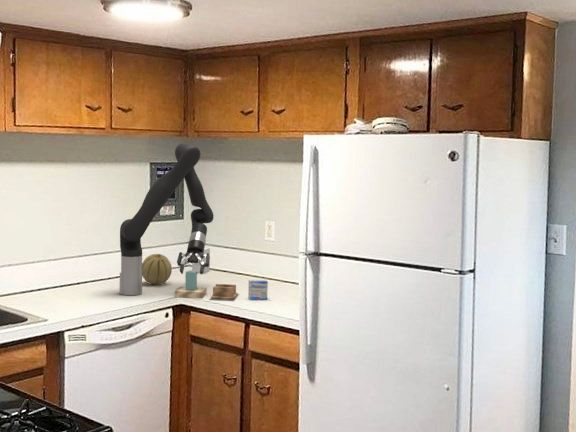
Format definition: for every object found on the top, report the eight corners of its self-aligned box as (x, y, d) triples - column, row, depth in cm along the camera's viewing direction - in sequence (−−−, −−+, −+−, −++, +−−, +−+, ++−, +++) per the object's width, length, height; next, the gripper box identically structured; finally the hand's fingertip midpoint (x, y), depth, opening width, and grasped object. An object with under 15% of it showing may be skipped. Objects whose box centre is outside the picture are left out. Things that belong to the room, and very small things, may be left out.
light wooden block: (175, 297, 334) (175, 291, 334) (180, 293, 344) (180, 286, 344) (202, 299, 333) (202, 292, 333) (206, 294, 343) (206, 288, 343)
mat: (208, 300, 330) (208, 300, 330) (215, 293, 346) (215, 292, 346) (233, 301, 329) (233, 301, 329) (239, 294, 345) (239, 293, 345)
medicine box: (249, 300, 332) (250, 281, 331) (248, 298, 336) (248, 279, 336) (267, 300, 334) (267, 281, 333) (265, 298, 338) (266, 279, 337)
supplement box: (210, 271, 403) (210, 247, 402) (204, 273, 396) (205, 249, 395) (197, 270, 405) (197, 247, 404) (191, 272, 398) (191, 248, 397)
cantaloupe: (155, 280, 374) (156, 250, 373) (178, 284, 366) (178, 253, 365) (133, 284, 362) (134, 253, 361) (156, 288, 354) (156, 256, 352)
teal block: (185, 290, 337) (185, 272, 336) (186, 288, 340) (187, 271, 339) (195, 290, 336) (195, 272, 336) (196, 289, 339) (197, 271, 339)
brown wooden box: (210, 299, 332) (210, 287, 331) (215, 293, 344) (215, 282, 343) (233, 300, 331) (233, 288, 330) (237, 294, 343) (237, 283, 342)
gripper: (180, 238, 345) (174, 267, 335) (211, 239, 344) (206, 268, 334) (182, 248, 351) (176, 277, 341) (213, 249, 350) (208, 278, 339)
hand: (191, 273), depth 337 cm, fingers open, 8 cm apart
